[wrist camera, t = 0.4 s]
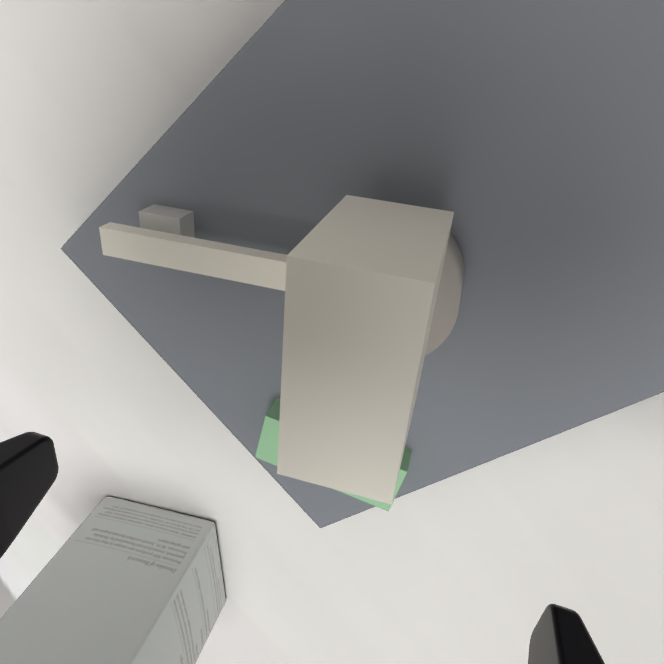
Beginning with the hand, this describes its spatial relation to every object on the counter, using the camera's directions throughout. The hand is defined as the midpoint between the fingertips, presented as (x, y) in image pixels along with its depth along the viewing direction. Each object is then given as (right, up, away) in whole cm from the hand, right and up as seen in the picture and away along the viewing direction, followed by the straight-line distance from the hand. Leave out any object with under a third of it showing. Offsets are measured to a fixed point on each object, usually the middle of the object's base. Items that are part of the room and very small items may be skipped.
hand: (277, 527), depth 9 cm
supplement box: (-9, -10, +23) cm, 27 cm away
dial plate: (+4, +6, +10) cm, 13 cm away
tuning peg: (-1, +6, +10) cm, 12 cm away
